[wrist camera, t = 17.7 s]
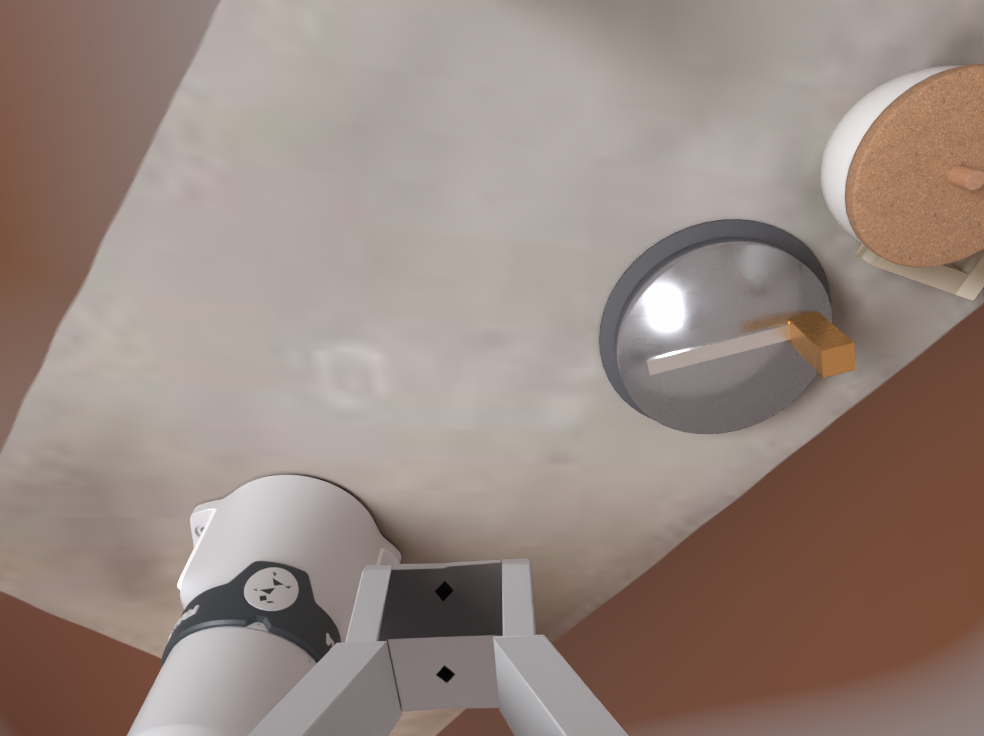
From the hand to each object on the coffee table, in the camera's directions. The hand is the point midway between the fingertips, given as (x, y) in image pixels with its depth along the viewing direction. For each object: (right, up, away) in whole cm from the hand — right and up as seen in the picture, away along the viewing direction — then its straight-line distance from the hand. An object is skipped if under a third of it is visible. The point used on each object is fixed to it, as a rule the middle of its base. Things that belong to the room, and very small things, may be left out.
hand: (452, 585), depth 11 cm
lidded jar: (+26, +18, +29) cm, 43 cm away
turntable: (+17, +7, +35) cm, 40 cm away
